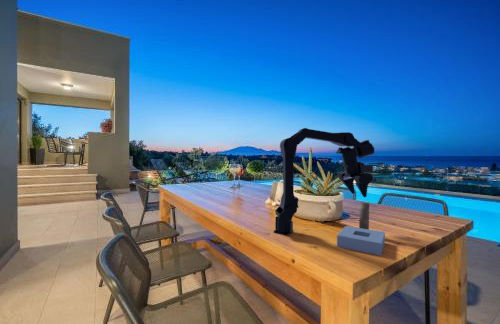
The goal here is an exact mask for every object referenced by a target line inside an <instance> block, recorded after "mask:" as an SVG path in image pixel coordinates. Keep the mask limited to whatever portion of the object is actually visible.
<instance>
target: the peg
mask: <svg viewBox="0 0 500 324" xmlns="http://www.w3.org/2000/svg"><path fill="white" fill-rule="evenodd" d="M358 218H359V223H358V224H359V226H358V228H362V229H368V230H370V203H369V202H365V201H364V202H363V201H362V202H359V217H358Z"/></svg>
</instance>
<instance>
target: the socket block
mask: <svg viewBox="0 0 500 324" xmlns="http://www.w3.org/2000/svg"><path fill="white" fill-rule="evenodd" d="M385 239H386V232H385V231H380V230H373V229H369V230H368V229H362V228H359V227H354V226H347V225H344V227H343V228H342V229H341V230H340V232H339V233H338V234H337V236H336V247H338V248H343V249H348V250H351V251H358V252H360V253H361V252H362V253H367V254H372V255H375V256H376V255H377V256H382V253H383V250H384V248H385V245H386V244H385V243H386V242H385V241H386V240H385Z"/></svg>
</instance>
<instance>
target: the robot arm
mask: <svg viewBox="0 0 500 324" xmlns="http://www.w3.org/2000/svg"><path fill="white" fill-rule="evenodd" d="M306 139H310V140H316V141H321V142H322V141H323V142H328V143H331V144H332V145H333V144H334V145H336V146H339V147H338V149H337V150H336V152H335V154H341V157H342V158H341V159H342V162H343V164H342V167H343V168H344V169H345V171H343V172H342V171H341V172H339V173H338V175H337V176H338V179H339V180H340V182H341V183H343V185H344V186H345V187H346V188H347V189H348V190H349V192H350V193H351V194H352V195H354V194H356V192H355V191H356V190H355V186H356V187H357V189H358V191H359V192H360V194H361V195H362V197H363V198H367V194H368V187H369V184H370V183H372V181H374V179H375V178H374V175H373V171H374V165H372V164H371V165H368V164H367V165H366V164H365V163H364V162H361V161H359V160H358V159H362V158H366V157H369V156H373V155H374V153H375V147H374V145H373V144H372V143H371V142H370V140H369V139H365V140H363V141H359V140H358V139H357V138H355V136H354V134H353V133H352V132H347V131H346V132H342V131H341V132H330V131H329V132H328V131H324V130H318V129H317V130H316V129H309V128H307V127H303V128H300V129H299V130H297V132H296V133H294V134H292V135H291V136H290V137H287V138H284V139H282V140H281V141H280V144H279V149H280V154H281V157H282V167H283V168H282V170H283V172H282V175H283V176H282V178H283V179H282V181H283V182H282V183H283V185H282V187H283V189H282V195H281V198H280V204H279V206H278V207H277V208H276V209H275V210H274V212H275V213H274V214H275V215H276V216H274V219H275V222H274V225H275V226H274V227H275V230H273V233H275V234H279V235H286V236H288V235H289V234H292V233H293V232H294V222H293V217H294V215H295V214H296V213H297V211H298V209H299V198H298V197H297V196H296V195H295V194H294V159H295V156H296V153H297V148H298V145H300V144H301V143H302V142H303V141H305V140H306ZM354 182H355V184H354Z"/></svg>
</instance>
